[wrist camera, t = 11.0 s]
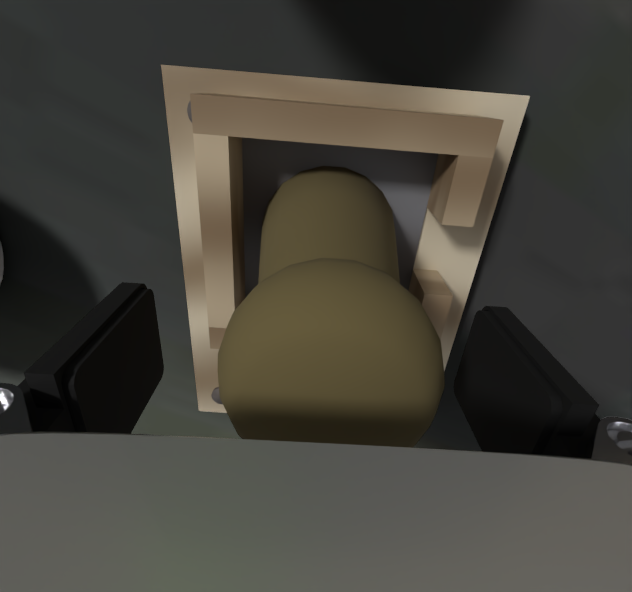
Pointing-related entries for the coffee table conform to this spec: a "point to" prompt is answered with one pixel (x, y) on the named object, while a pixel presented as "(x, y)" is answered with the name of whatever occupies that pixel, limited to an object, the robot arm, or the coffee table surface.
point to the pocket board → (337, 151)
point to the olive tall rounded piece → (330, 325)
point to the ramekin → (1, 263)
